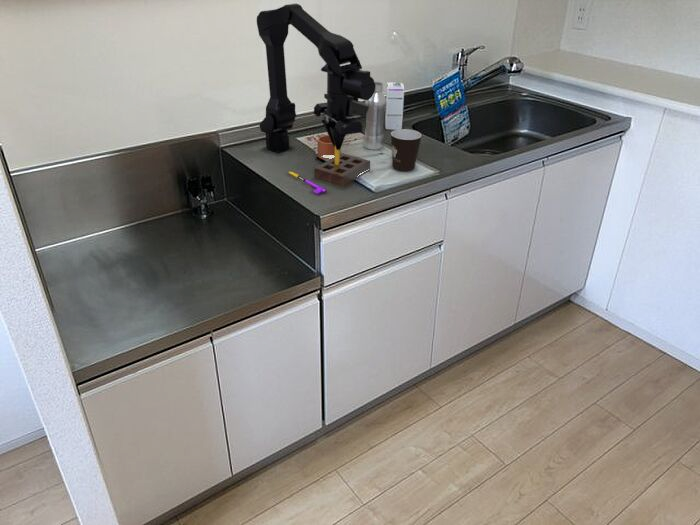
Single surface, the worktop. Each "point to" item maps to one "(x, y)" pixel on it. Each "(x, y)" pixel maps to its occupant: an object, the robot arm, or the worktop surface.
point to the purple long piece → (311, 184)
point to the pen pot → (325, 147)
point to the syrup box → (394, 105)
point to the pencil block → (342, 170)
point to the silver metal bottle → (375, 119)
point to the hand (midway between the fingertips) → (337, 148)
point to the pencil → (337, 156)
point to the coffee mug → (404, 149)
